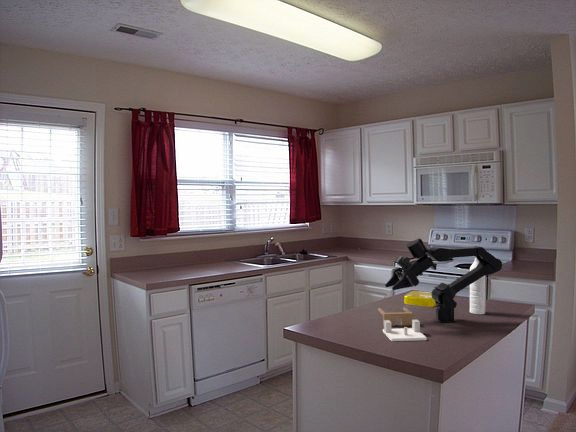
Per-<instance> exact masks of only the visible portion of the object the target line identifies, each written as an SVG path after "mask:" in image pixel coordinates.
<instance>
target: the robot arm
mask: <svg viewBox="0 0 576 432" xmlns="http://www.w3.org/2000/svg"><path fill="white" fill-rule="evenodd" d="M405 247H406V249H407V250H408V252H409V253H410V255H411V258H414V259H416V260H415V261H411V258H409V256H405V257H404V256H402V255H397V256H396V258H395V259H394V261H393V262H394V264H397V265H398V266H399V267H401V268H399V267H394V268H393V269H392V270H391V271H392V272H391V277H390V279H389V280H388V281H387V282H386V283H385V285H384V287H386V288H389V287H391V289H392V291H396V290H402V289H407V288H413V287H417V286H418V285H419V284H420V280H419V278H418V277H419V276H423V275H424V274H423V273H425V272H426V271H427V270H434V271H436V270H437V264H438V263H435V262H434V261H436V262H439V263H440V262H445V261H449V260H450V259H454V258H456V259H457V258H468V257H475V258H477V260H478V261H479V263H478V265H477V267H476V268H474V269H473V270H471V271H470V270H469V271H468V272H467V273H465V274H463V275H461V276H460V277H458V278H457V279H455V280H453V281H452V282H450V283H449V284H447V283H444V282H441V283H440V284H438V285H437V286H434V287H433V289H432V291H431V293H432V298H433V299H434V300H435V303H436V304H438V305H436V308H435V319H436V320H437V321H438V322H441V323H456V322H457V320H456V319H455V309H456V308H457V304H458V303H457V302H456V301H455V300H454V299H455V297H456V295H457V294H458V293H459V292H461V291H463V290H464V289H466V288H467V287H470V284H472V283H473V282H475V281H477V280H478V279H480V278H481V277H483V276H485V277H486V276H489V275H493V274H496V273H498V272H500V271H501V270H502V269H503V263H502V260H501V259H499V258H496V257H495V256H494V255H493V254H492V253H490V252H489V251H487V250H486V249H485V248H484V247H483V246H478V245H475V246H467V247H466V246H465V247H452V248H449V247H441V246H431V247H430V248H428V247H426V245H425V244H424V241H423V240H422V238H417V239H415V240H412V241H409V242H408V243H407V244H406V245H405Z"/></svg>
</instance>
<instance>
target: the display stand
mask: <svg viewBox="0 0 576 432" xmlns="http://www.w3.org/2000/svg"><path fill="white" fill-rule="evenodd" d="M382 332H383V334H384V335H385V336H386V337H387V338H388V339H389V340H390V341H391V342H409V341H411V342H412V341H415V342H416V341H419V342H420V341H427V340H428V338H427V336H426V335H424V333H422V332H421V321H419V319H413V320H412V325H411V327H410V328H409V327H408V326H404V327H403V328H402V327H401V328H392V326H391V322H390V321H389V320H384V325H383V328H382Z"/></svg>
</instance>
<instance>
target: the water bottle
mask: <svg viewBox="0 0 576 432" xmlns="http://www.w3.org/2000/svg"><path fill="white" fill-rule="evenodd" d="M478 263H479V261H478V260H477V258H476V257H474V261H473V263H472V264H471V265H470V267H469V271H471V270H473V269H474V268H476V267H477V265H478ZM469 313H470V314H473V315H485V314H486V275H485V276H483V277H481V278H480V279H478V280H477V281H475V282H473V283H472V284H470V285H469Z"/></svg>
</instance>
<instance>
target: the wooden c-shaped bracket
mask: <svg viewBox="0 0 576 432" xmlns="http://www.w3.org/2000/svg"><path fill="white" fill-rule="evenodd" d="M402 308H403V309H402V310H403V311H402V312H401V311H400V312H399V311H398V312H385V311H384V310H383V309H382V308H381V307H378V308H377V311H378V312H379V313H380V314H381V315H382V326H384V320H389V321H390V322H391V327H395V326H396V320H397V319H400V325H401V326H404V327H409V326H412V320H414V313H413V312H412V311H411V310H410V309H408V308H407V307H405V306H403V307H402Z"/></svg>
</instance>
